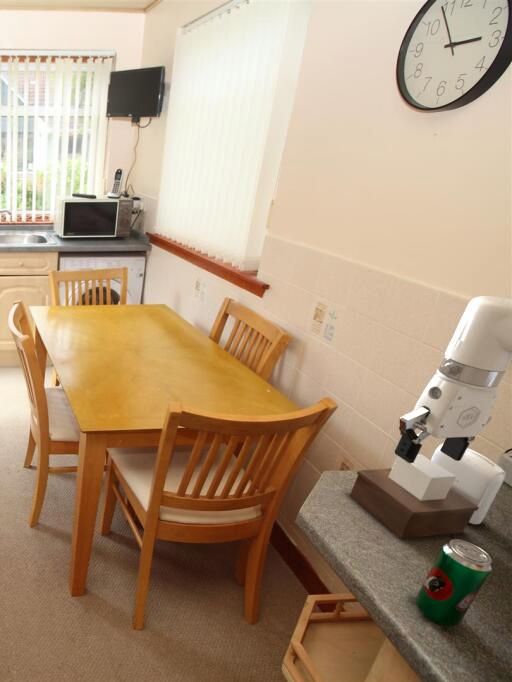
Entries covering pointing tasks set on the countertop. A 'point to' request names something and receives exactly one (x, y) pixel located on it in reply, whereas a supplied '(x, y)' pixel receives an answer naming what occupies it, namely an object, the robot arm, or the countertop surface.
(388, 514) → the storage box
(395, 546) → the countertop surface
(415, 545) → the countertop surface
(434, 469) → the white box
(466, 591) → the soda can
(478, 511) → the photo printer
